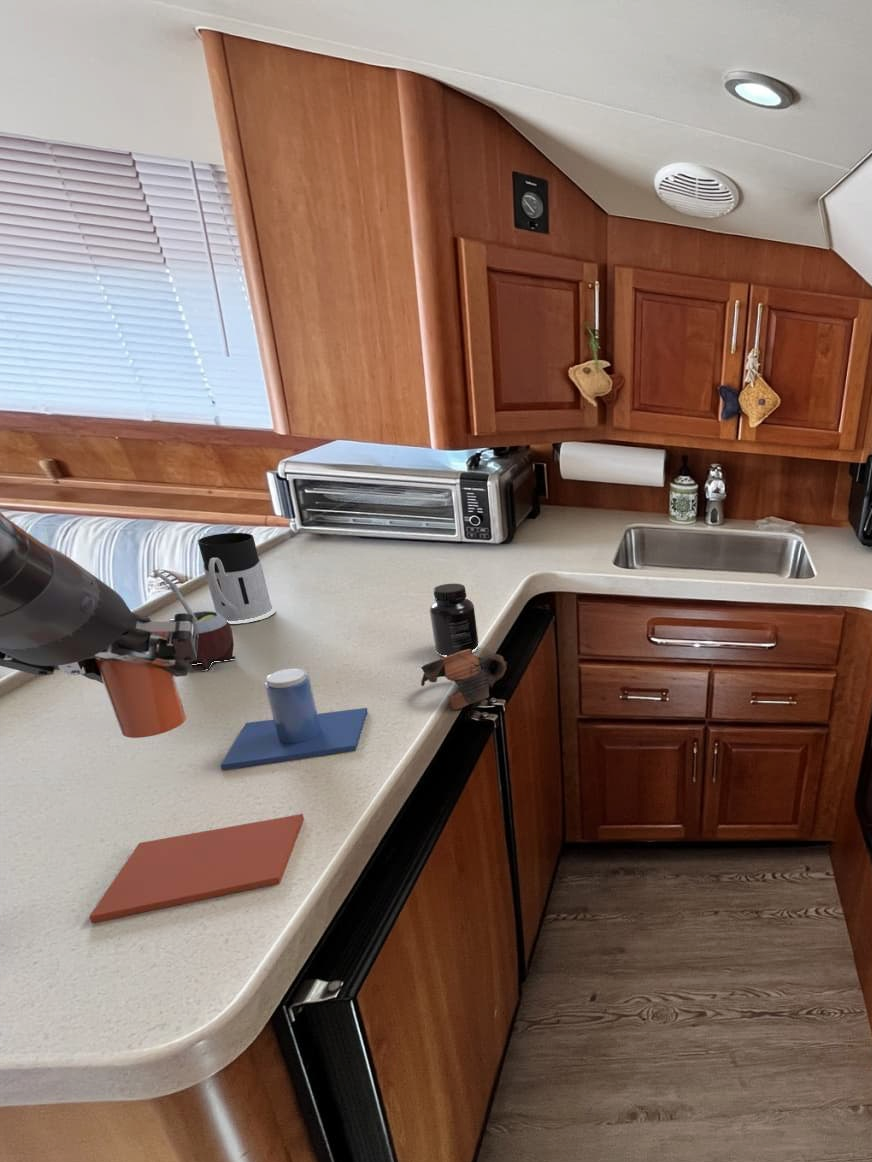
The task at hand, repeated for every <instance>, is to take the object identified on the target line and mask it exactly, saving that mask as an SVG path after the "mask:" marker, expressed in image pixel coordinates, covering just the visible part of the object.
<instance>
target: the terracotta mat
mask: <svg viewBox="0 0 872 1162" xmlns="http://www.w3.org/2000/svg"><path fill="white" fill-rule="evenodd" d="M304 820H305V817H304V814H303V813H300V814H294V815H289V816H283V817H282V816H281V817H277V818H272V819H271V818H270V819H267V820H260V821H254V822H250V823H244V824H238V825H237V824H236V825H233V826H226V827H220V828H215V829H210V830H204V831H199V832H194V833H187V834H182V835H177V836H171V837H165V838H159V839H154V840H147V841H142V842H139V843H138V844H137V846H136V847H135V848H134V850H133V851H132V853H131V855H130V856H129V857H128V859H127V860H126V862H125V863H124V865H123V866H122V868H121V869H120V871H119V872H118V874H117V875H116V877H115V878H114V880H113V881H112V883H111V884H110V886H108V889H107V890H106V891H105V893H104V894H103V896H102V898H101V899H100V900H99V902H98V903H97V904H96V906H95V908H94V909H93V911H92V912H91V914H90V915H89V920H90V922H91V923H92V924H94V923H99V922H103V921H108V920H113V919H118V918H122V917H126V916H127V917H128V916H132V915H137V914H141V913H146V912H151V911H154V910H160V909H164V908H170V907H174V906H179V905H184V904H188V903H193V902H198V901H203V900H207V899H213V898H218V897H222V896H227V895H231V894H236V893H241V892H245V891H249V890H254V889H258V888H264V887H268V886H273V885H278V884H281V881H282V878H283V876H284V874H285V870H286V868H287V865H288V863H289V860H290V857H291V854H292V852H293V849H294V847H295V844H296V842H297V839H298V836H299V835H300V831H301V828H302V825H303V823H304Z"/></svg>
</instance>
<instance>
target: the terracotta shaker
mask: <svg viewBox="0 0 872 1162" xmlns="http://www.w3.org/2000/svg"><path fill="white" fill-rule="evenodd" d="M158 650H159V645H157V649H156V651H157V653H158ZM95 661H96V664H97V667H98V669H99V672H100V675H101V678H102V681H103V683H104V684H103V683H102V684H103V686H104V688H105V692H106V694H107V697H108V699H109V700H108V701H109V703H110V706H111V709H112V711H113V715H114V718H115V719H116V722H117V725H118V728H119V731H120V734H121V735H122V736H123V737H125V738H130V739H131V738H132V739H141V738H149V737H155V736H158V735H161V734H164V733H168V732H170V731H172V730H174V729H177V728H178V727H180V726H181V725H182V724H184V723H185V722H186V720H187V713H186V710H185V707H184V704H183V701H182V700H183V699H182V697H181V694H180V692H179V688H178V685H177V681H176V678H175V676H174V675H172V674H171V673H169V672H167V671H166V670H164V669H162V668H161V667H159V665H156V664H152V663H149V662H147V663H142V664H133V663H130V662H126V661H122V660H119V659H115V658H109V659H105V658H101V657H97V658H95Z"/></svg>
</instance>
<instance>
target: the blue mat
mask: <svg viewBox="0 0 872 1162" xmlns="http://www.w3.org/2000/svg"><path fill="white" fill-rule="evenodd" d="M367 711H368V712H369V710H368V707H361V708H353V709H346V710H345V709H344V710H337V711H330V712H322V713H318V717H319V722H320V726H321V732H320V733H319V734H318V735H317V736H315V737H314V738H312V739H310V740H307V741H304V742H300V743H295V744H285V743H282V742H280V741H279V739H278V736H277V732H276V728H275V724H274V720H273V719H266V720H258V721H251V722H245V724H244V726H243V728H242V729H241V731H240V732H239V734H238V736H237V737H236V739H235V740H234V742H233V744H232V745H231V747H230V748H229V750H228V752H226V753H227V754H226V755H225V757H224V758H223V760H222V761H221V764H220V769H221V771H227V770H231V769H238V768H245V767H253V766H259V765H265V764H272V763H278V762H285V761H286V762H288V761H294V760H299V759H306V758H314V757H319V756H327V755H333V754H340V752H341V753H347V752H353V751H352V750H354V751H357V748H358V745H357V744H359V742H358V741H360V739H361V735H362V732H363V729H362V727H363V728H364V726H363V724H364V725H365V723H364V721H365V722H366V719H365V717H366V718H367V716H366V714H367V715H368V713H367ZM361 731H362V732H361ZM360 734H361V735H360ZM356 747H357V748H356Z"/></svg>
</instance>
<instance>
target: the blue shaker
mask: <svg viewBox="0 0 872 1162" xmlns="http://www.w3.org/2000/svg"><path fill="white" fill-rule="evenodd" d="M265 680H266V682H265V683H264V688H265V689H264V690H265V693H266V697H267V700H268V704H269V709H270V712H271V716H272V720H274V724H275V728H276V732H277V736H278V739H279V741H280V742H282V743H285V744H295V743H300V742H304V741H307V740H310V739H312V738H314V737H315V736H317V735H318V734H319V733H320V732H321V726H320V722H319V717H318V714H319V713H318V709H317V705H316V701H315V696H314V692H313V691H314V690H313V688H312V682H311V679H310V675H308V674H307V673H306V671H305V670H304V669H302V668H294V667H293V668H285V669H281V670H278V671H274V672H272V673H271V674H269V675H268V676H267V677H266V679H265Z"/></svg>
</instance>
